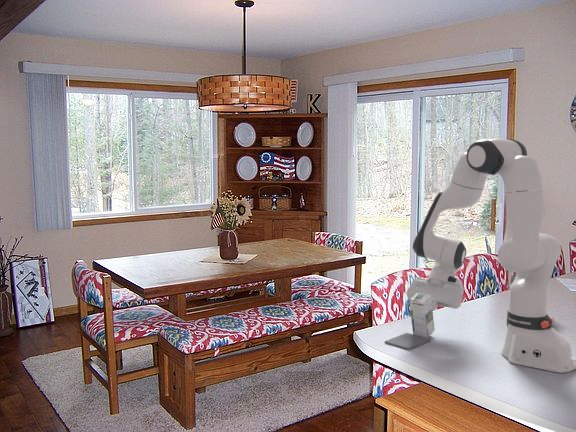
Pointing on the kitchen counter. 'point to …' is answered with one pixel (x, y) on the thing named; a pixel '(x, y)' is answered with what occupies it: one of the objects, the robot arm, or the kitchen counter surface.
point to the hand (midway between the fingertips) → (426, 313)
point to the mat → (408, 341)
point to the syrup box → (422, 315)
